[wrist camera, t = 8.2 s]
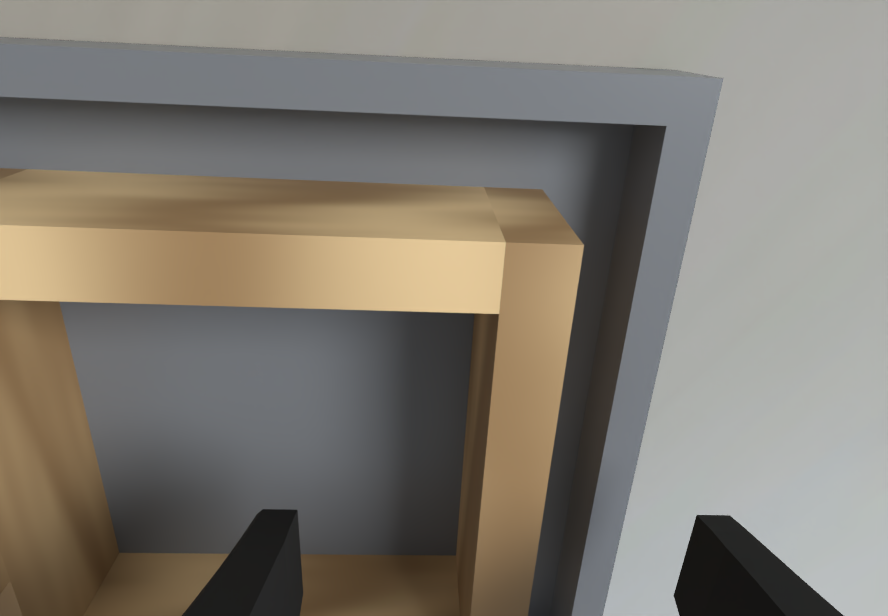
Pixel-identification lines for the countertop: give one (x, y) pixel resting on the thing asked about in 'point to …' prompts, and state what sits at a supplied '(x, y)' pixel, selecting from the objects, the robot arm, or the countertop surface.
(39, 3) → the countertop surface
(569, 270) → the wooden frame
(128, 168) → the tray
